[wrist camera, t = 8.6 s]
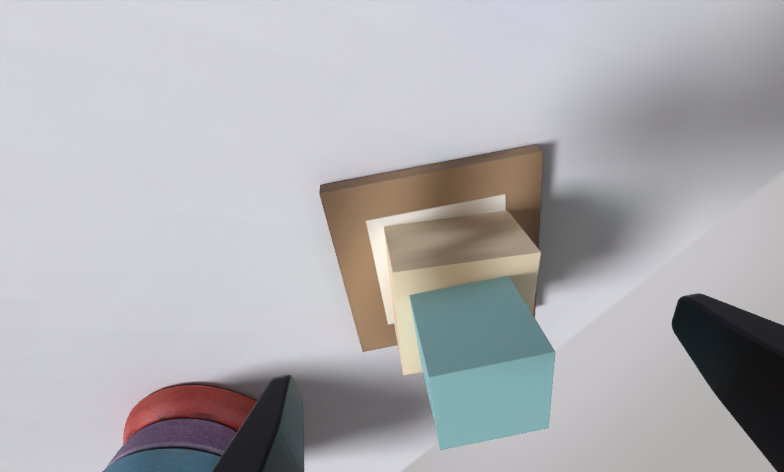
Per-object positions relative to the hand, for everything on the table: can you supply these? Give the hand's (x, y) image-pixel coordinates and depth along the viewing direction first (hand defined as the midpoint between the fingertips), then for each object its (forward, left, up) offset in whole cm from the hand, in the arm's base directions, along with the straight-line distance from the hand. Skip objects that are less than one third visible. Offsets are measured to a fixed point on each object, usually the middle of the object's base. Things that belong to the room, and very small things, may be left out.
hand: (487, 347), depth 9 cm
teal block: (-1, +6, -7) cm, 10 cm away
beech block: (-1, +6, -11) cm, 13 cm away
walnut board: (-1, +6, -12) cm, 14 cm away
